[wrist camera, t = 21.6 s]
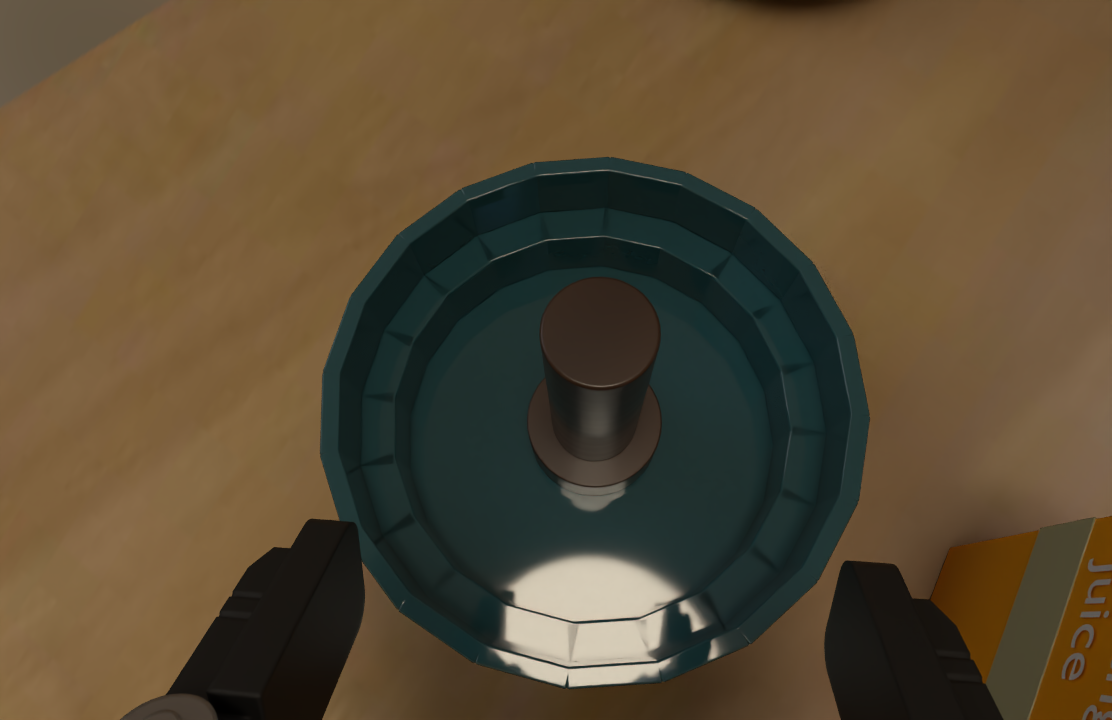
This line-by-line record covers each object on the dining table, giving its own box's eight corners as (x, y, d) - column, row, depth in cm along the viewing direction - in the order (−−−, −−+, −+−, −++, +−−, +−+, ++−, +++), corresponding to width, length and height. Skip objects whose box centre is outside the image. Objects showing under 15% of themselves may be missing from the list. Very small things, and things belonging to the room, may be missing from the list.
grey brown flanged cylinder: (680, 413, 30) (733, 301, 19) (614, 520, 29) (634, 464, 18) (573, 350, 31) (569, 211, 20) (505, 452, 29) (464, 360, 19)
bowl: (887, 367, 31) (957, 310, 25) (672, 776, 27) (696, 819, 21) (524, 171, 34) (513, 81, 29) (279, 506, 30) (209, 479, 24)
